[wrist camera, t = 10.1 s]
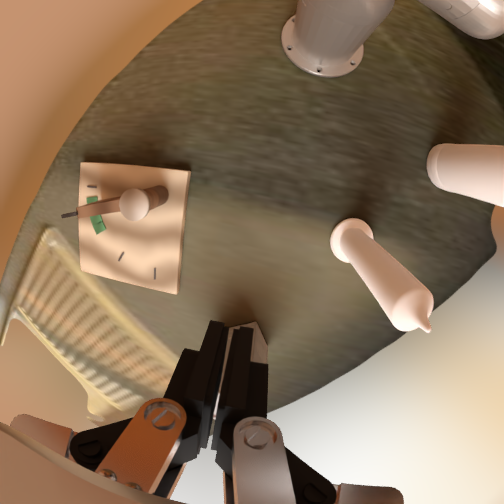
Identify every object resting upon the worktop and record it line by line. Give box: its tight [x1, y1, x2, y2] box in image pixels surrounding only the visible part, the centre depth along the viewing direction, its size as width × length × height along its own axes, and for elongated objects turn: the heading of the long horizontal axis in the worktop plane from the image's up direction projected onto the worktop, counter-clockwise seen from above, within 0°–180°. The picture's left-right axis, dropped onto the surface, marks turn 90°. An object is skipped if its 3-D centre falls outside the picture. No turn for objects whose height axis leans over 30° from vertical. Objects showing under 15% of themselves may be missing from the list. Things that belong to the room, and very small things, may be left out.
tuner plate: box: [79, 162, 191, 294], centre depth 42 cm, size 20×20×2 cm
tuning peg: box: [61, 185, 169, 221], centre depth 35 cm, size 16×4×9 cm, turn 95°
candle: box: [330, 218, 433, 333], centre depth 29 cm, size 7×7×25 cm
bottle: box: [427, 143, 504, 207], centre depth 22 cm, size 8×8×30 cm
